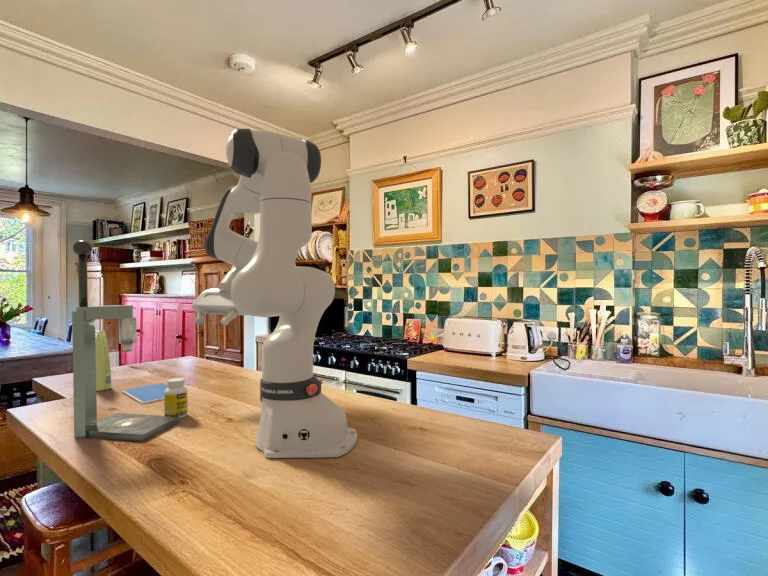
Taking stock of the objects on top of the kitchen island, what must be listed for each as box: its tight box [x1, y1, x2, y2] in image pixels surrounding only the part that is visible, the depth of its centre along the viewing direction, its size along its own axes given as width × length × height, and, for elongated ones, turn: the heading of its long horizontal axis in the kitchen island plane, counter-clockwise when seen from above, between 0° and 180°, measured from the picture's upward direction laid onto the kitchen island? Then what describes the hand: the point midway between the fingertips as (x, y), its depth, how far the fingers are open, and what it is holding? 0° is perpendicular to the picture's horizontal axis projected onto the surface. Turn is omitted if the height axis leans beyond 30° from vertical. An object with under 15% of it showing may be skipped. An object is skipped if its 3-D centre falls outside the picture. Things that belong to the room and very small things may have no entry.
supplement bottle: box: [163, 377, 188, 419], centre depth 105 cm, size 5×5×10 cm
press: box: [71, 240, 180, 442], centre depth 96 cm, size 18×13×45 cm
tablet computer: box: [122, 382, 168, 405], centre depth 127 cm, size 19×13×1 cm, turn 49°
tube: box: [95, 329, 112, 392], centre depth 133 cm, size 6×5×20 cm
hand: (210, 323), depth 117 cm, fingers open, 8 cm apart
